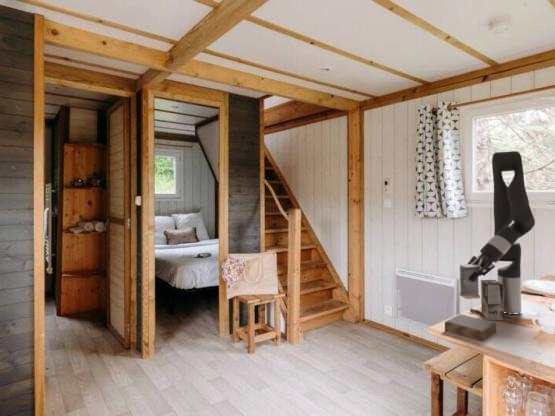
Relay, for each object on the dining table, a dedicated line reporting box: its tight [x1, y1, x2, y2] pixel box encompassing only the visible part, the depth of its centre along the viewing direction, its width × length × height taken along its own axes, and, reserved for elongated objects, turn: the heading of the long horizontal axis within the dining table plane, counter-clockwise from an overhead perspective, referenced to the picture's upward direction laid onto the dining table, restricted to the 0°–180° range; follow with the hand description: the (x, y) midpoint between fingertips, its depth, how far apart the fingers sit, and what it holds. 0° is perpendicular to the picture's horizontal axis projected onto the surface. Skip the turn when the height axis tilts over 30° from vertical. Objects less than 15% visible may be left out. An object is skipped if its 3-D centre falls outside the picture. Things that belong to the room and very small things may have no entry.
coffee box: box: [480, 279, 504, 321], centre depth 169 cm, size 9×6×16 cm
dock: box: [444, 313, 497, 342], centre depth 155 cm, size 15×13×4 cm
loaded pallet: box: [459, 263, 481, 300], centre depth 153 cm, size 6×6×13 cm
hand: (467, 278), depth 153 cm, fingers closed on loaded pallet, 5 cm apart
